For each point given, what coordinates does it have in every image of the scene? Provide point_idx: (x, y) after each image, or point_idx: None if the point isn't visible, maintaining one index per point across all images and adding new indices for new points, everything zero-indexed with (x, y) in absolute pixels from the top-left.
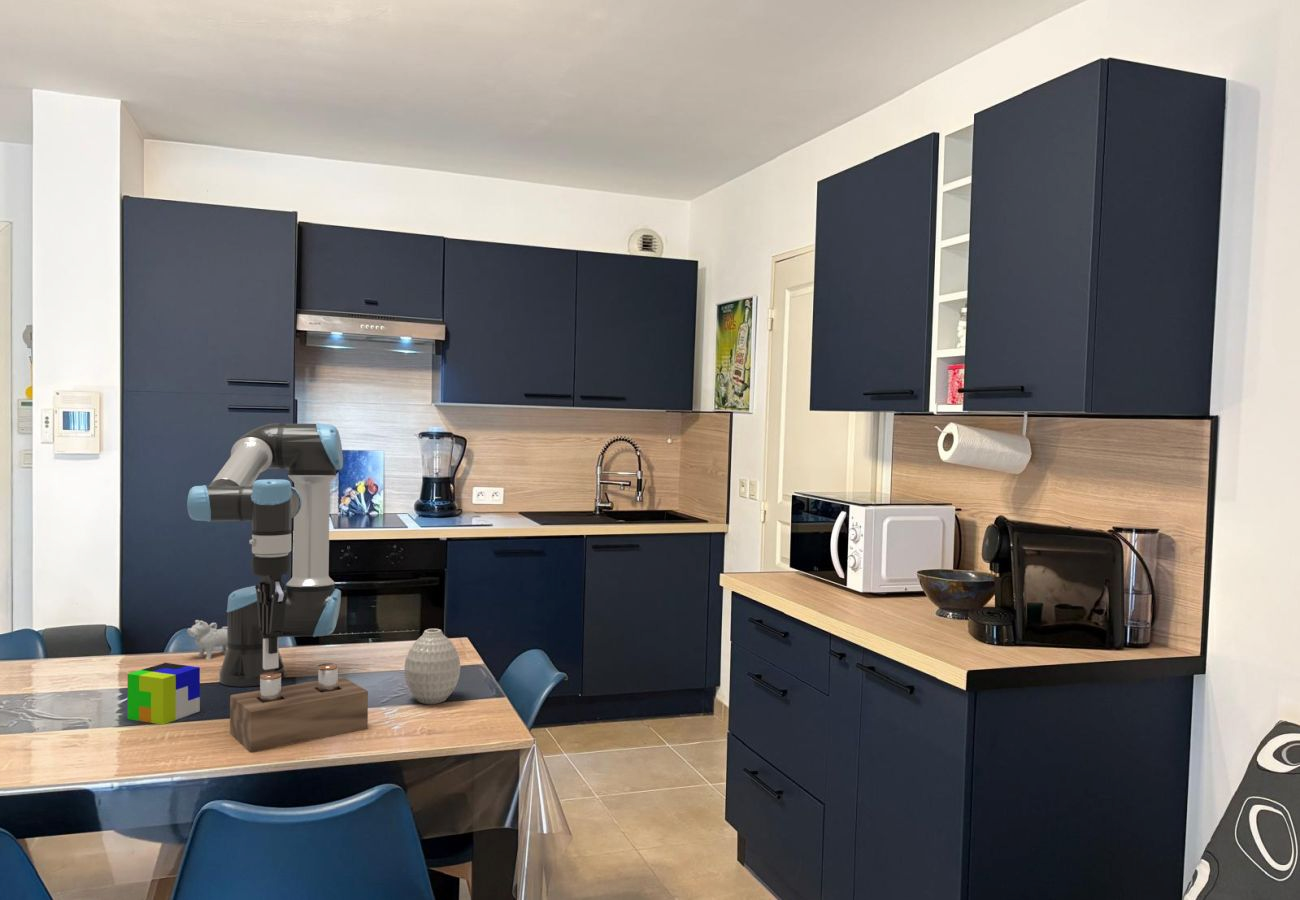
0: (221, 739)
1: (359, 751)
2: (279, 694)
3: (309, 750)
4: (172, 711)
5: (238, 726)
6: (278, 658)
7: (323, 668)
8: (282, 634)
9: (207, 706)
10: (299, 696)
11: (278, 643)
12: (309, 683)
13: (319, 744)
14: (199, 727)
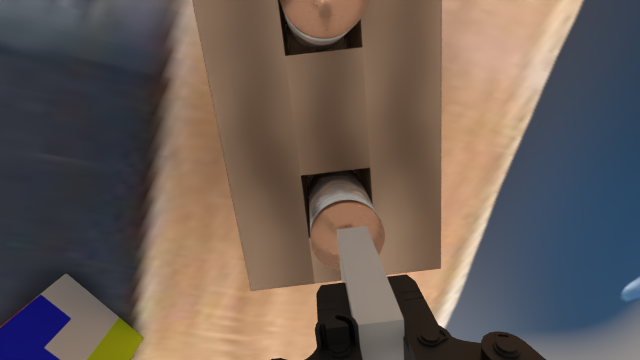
0: None
1: (552, 11)
2: (361, 187)
3: (470, 115)
4: (114, 338)
5: None
6: (373, 245)
7: (357, 22)
8: (515, 336)
9: (30, 255)
10: (367, 124)
11: (391, 290)
12: (221, 55)
13: (446, 85)
14: (193, 284)
